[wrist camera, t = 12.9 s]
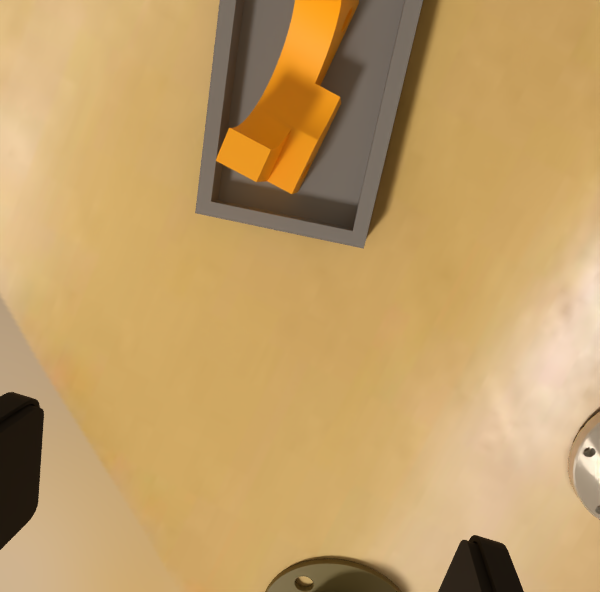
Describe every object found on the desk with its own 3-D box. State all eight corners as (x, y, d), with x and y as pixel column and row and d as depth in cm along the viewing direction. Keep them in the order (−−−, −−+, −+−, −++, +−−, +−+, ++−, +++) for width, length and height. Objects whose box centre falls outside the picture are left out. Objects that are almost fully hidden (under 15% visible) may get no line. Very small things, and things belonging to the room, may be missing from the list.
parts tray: (430, -42, 26) (438, -65, 24) (362, 242, 31) (363, 248, 29) (241, -74, 27) (231, -99, 24) (206, 210, 32) (195, 213, 30)
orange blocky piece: (297, 192, 30) (283, 196, 24) (243, 163, 30) (215, 160, 24) (383, 17, 26) (392, -32, 20) (322, -17, 26) (313, -75, 20)
